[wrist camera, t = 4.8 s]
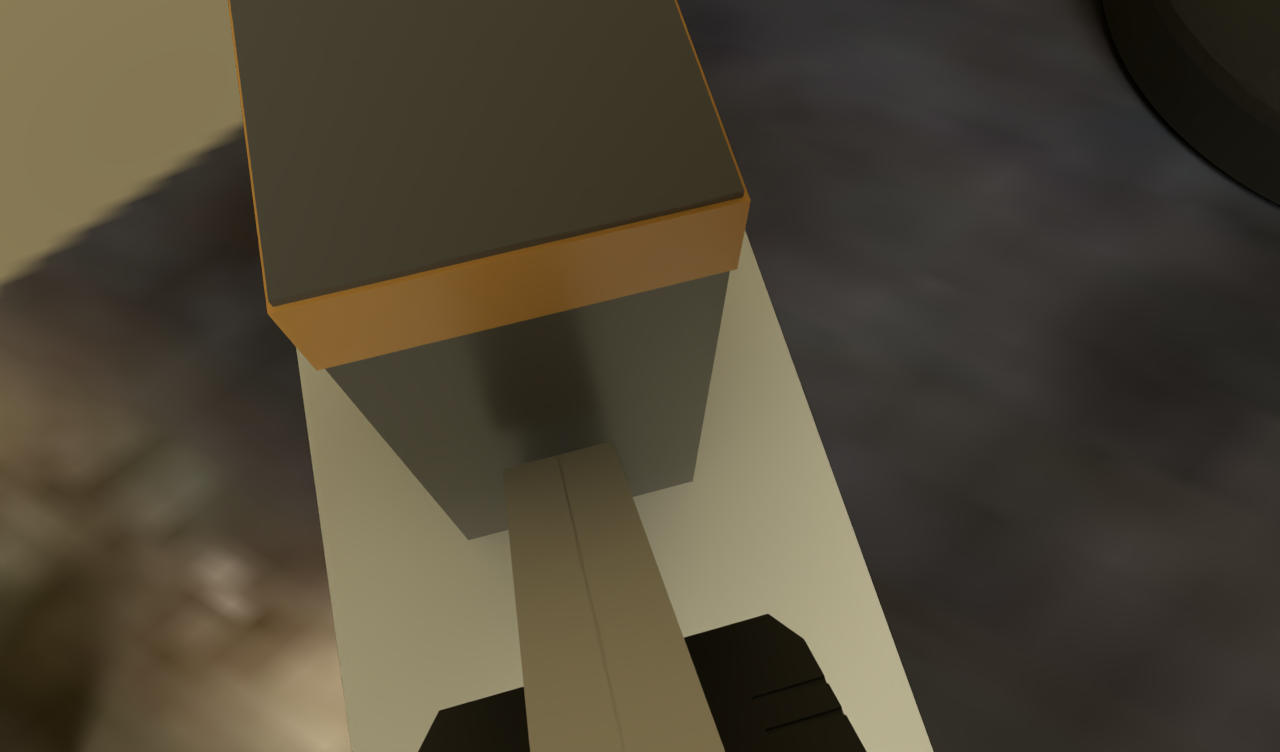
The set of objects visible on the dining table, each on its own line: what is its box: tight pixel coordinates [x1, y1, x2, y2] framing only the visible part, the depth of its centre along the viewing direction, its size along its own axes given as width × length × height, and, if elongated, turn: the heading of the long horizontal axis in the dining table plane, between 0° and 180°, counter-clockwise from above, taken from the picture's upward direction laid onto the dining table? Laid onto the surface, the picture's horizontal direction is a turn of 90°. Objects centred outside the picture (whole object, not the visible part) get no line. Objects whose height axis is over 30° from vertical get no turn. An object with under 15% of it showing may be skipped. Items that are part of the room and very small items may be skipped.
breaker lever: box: [228, 0, 750, 540], centre depth 12 cm, size 4×4×9 cm
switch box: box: [296, 232, 933, 752], centre depth 17 cm, size 9×18×4 cm, turn 15°
